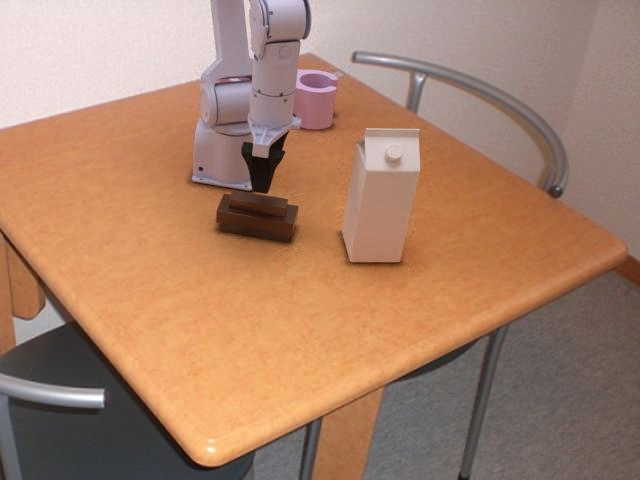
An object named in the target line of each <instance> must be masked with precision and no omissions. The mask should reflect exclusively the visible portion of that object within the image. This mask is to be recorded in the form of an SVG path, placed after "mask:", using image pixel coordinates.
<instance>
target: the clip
mask: <svg viewBox="0 0 640 480" xmlns="http://www.w3.org/2000/svg"><path fill="white" fill-rule="evenodd" d="M251 58H252V59H254V57H251ZM243 80H250V79H248V78H233V79H222V80H217V81H216V83H221V82H232V81H243ZM338 83H339V77H337V75H335V74H333V73H331V72H328V71H324V70H319V69H301V68H298V72H297V82H296V91H295V100H294V109H293V113H294V114H295V115H296V117H297V118H300V119H301V125H300V128H302V129H306V130H314V131H315V130H317V131H318V130H325V129H328V128H331V127H332V124H333V118H334V117H333V116H334V113H335V112H334V111H335V103H336V98H337V90H338Z"/></svg>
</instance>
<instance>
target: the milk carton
mask: <svg viewBox="0 0 640 480" xmlns="http://www.w3.org/2000/svg"><path fill="white" fill-rule="evenodd" d="M364 131H365V132H364V135H363V136H362V137H361V138H360V139H359V140H357V141H356V143H355V148H354V149H355V150H354V156H353V162H352V166H351V167H352V169H351V174H350V181H349V186H348V192H347V198H346V205H345V210H344V216H343V221H342V222H343V223H342V227H341V234H342V237H343V241H344V244H345V248H346V252H347V255H348V259H349V262H350V263H400V262H401V260H402V254H403V250H404V247H405V246H404V245H405V242H406V237H407V232H408V227H409V223H410V218H411V215H412V209H413V205H414V200H415V196H416V193H417V187H418V183H419V180H420V179H419V178H420V173H421V156H420V155H421V153H420V133H421V129H420V128H378V127H377V128H375V127H373V128H371V127H366V128H365V130H364Z"/></svg>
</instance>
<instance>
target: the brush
mask: <svg viewBox="0 0 640 480" xmlns="http://www.w3.org/2000/svg"><path fill="white" fill-rule="evenodd" d="M298 215H299V205H295V204H290V203H289V198H285V197H278V196H274V195H273V196H272V195H267V194H262V193H256V192H250V191H244V190H238V189H232V191H231V193H230V194H229V193H223V194H222V197H221V199H220V201H219V204H218V207H217V209H216V216H215V222H216V223H219V229H218V230H219V231H220V232H226V233H232V234H238V235H243V236H249V237H253V238H254V237H255V238H261V239H267V240H273V241H278V242H283V243H289V240H290V237H291V236H293V234H294V230H295V227H296V225H297V220H298V217H299V216H298Z"/></svg>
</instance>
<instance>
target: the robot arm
mask: <svg viewBox="0 0 640 480" xmlns="http://www.w3.org/2000/svg"><path fill="white" fill-rule="evenodd" d="M209 2H210V11H211V19H212V28H213V29H212V30H213V39H214V49H215V57H216V58H215V60H213V62H212V63H211V64H210V65H208V66H207V68H205V70H203V72H202V73H201V75H200V77H199V110H200V114H201V117H200V118H199V119H198V121H197V123H196V127H195V132H194V138H193V155H192V156H193V157H192V159H193V161H192V166H193V167H192V177H191V181H192V182H194V183H199V184H205V185H211V186H217V187H223V188H230V189H234V190H240V191H246V192H250V191H252V193H257V194H263V195H267V194H268V193H269V191H270V190H271V189H270V188H271V186H272V182H273V179H274V176H275V172H276V169H277V168H278V166H279V165H280V163H281V162H282V160H283V159H284V157H285V154H286V150H284V145H285V143H286V139H287V136H288V135H289V133H290V131H291V130H300V128H301V127H300V125H301V119H300V118H297V117H296V115H295V114H294V113H293V109H294V100H295V91H296V82H297V72H298V69H299V62H300V51H301V43H302V42H301V40H303V41H305V40H307V39H308V38H309V36H310V33H311V29H312V8H311V7H312V6H311V3H310V0H248V2H249V5H250V7H249V10H248V12H249V13H248V22H249V28H250V50H251V51H252V53H253V57H251V56H250V52H249V51H250V50H249V41H248V30H247V19H246V12H245V11H246V10H245V0H210V1H209ZM252 58H254V59H252ZM233 78H248V79H250V80H243V81H232V82H221V83H217V80H222V79H233Z"/></svg>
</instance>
